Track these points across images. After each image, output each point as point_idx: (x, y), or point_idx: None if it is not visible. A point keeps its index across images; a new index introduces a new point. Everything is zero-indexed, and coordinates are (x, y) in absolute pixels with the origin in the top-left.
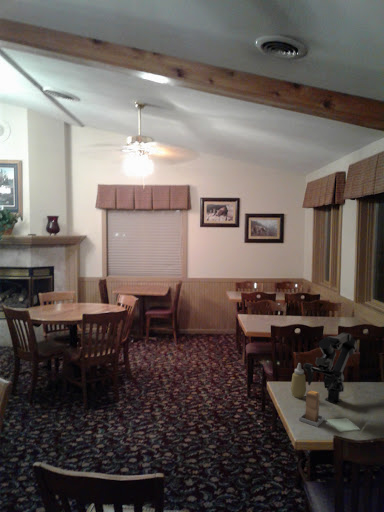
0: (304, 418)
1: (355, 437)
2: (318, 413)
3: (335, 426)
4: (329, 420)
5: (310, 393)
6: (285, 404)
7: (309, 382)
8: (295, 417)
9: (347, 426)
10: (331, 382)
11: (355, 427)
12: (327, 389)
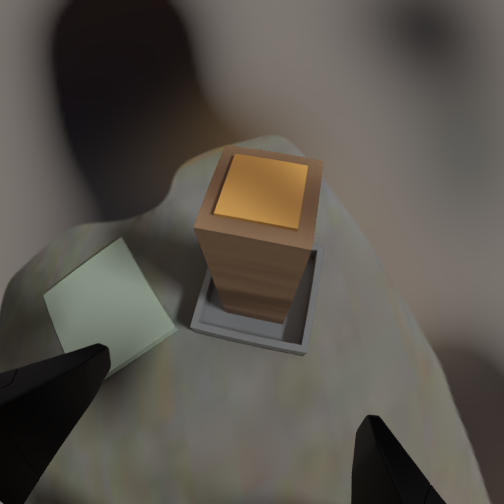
0: (301, 291)
1: (73, 237)
2: (221, 299)
3: (135, 267)
4: (163, 322)
5: (283, 162)
6: (432, 416)
7: (373, 432)
8: (349, 293)
9: (84, 294)
10: (5, 374)
11: (56, 300)
12: (99, 343)
